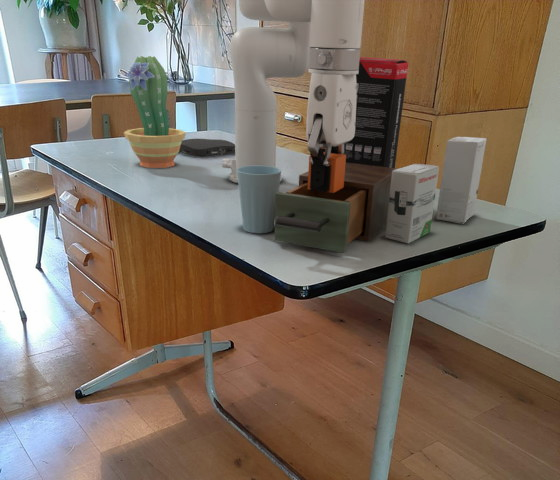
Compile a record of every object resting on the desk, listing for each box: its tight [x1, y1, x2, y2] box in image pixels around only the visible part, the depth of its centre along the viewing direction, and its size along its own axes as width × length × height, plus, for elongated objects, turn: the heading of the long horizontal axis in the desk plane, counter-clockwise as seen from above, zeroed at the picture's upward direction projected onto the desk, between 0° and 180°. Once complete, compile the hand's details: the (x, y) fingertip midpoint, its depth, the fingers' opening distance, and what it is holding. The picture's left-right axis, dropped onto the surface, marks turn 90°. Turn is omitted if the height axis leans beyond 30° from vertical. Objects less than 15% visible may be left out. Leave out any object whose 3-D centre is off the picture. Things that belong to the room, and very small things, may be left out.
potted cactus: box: [123, 55, 186, 169], centre depth 148 cm, size 15×15×25 cm
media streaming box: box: [178, 138, 235, 158], centre depth 170 cm, size 15×15×3 cm
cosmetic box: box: [435, 136, 488, 225], centre depth 114 cm, size 8×6×15 cm
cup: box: [237, 165, 282, 234], centre depth 104 cm, size 8×8×10 cm
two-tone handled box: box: [274, 182, 369, 254], centre depth 98 cm, size 20×12×8 cm, turn 154°
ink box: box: [384, 163, 440, 244], centre depth 103 cm, size 9×5×12 cm, turn 141°
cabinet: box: [298, 163, 398, 242], centre depth 109 cm, size 16×14×10 cm
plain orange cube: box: [307, 152, 346, 193], centre depth 96 cm, size 5×5×5 cm
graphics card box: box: [319, 56, 409, 168], centre depth 121 cm, size 17×7×27 cm, turn 59°
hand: (325, 186), depth 97 cm, fingers closed on plain orange cube, 4 cm apart
